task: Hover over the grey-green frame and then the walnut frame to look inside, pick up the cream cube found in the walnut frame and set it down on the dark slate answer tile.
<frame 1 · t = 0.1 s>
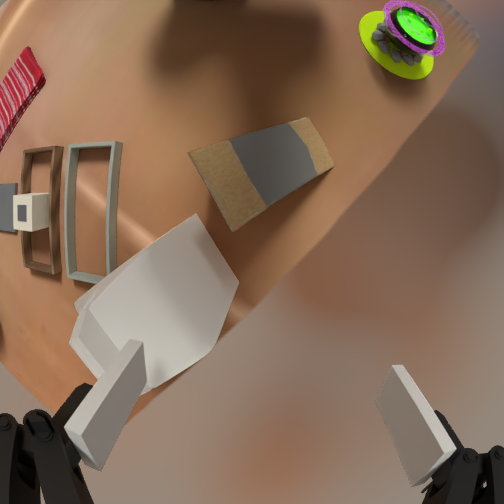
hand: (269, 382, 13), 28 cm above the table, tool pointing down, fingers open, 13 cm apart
walnut frame: (42, 208, 39), on the table
milk: (186, 266, 41), on the table
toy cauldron: (397, 43, 31), on the table
dish towel: (10, 102, 34), on the table
slate tile: (5, 206, 39), on the table
cream cube: (32, 210, 36), in the walnut frame
sandwich container: (276, 164, 37), on the table
grey frame: (93, 212, 39), on the table
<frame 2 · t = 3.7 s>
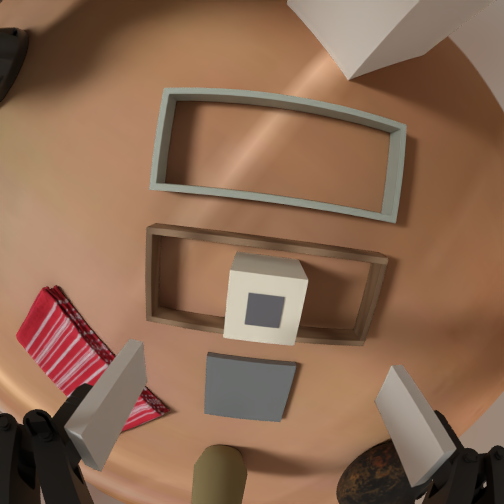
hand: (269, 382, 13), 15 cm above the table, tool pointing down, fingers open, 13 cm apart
walnut frame: (263, 284, 27), on the table
glass bottle: (377, 456, 35), on the table
milk: (359, 26, 20), on the table
squeeze bottle: (223, 452, 35), on the table
dish towel: (84, 368, 32), on the table
slate tile: (247, 389, 30), on the table
cream cube: (263, 296, 24), in the walnut frame
grey frame: (281, 150, 24), on the table
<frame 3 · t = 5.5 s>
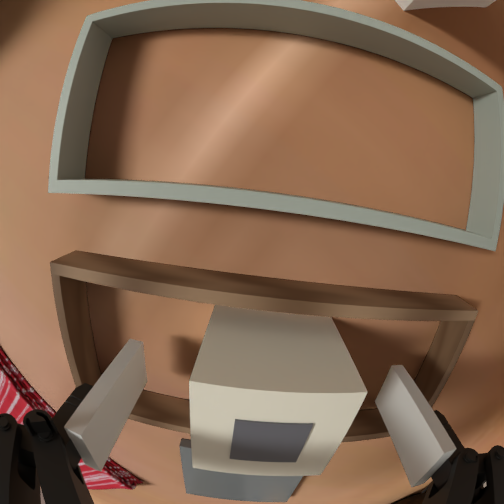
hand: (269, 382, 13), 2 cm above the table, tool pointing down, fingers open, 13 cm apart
walnut frame: (265, 359, 14), on the table
dish towel: (38, 422, 19), on the table
slate tile: (241, 475, 18), on the table
cream cube: (267, 395, 11), in the walnut frame
grey frame: (302, 107, 11), on the table
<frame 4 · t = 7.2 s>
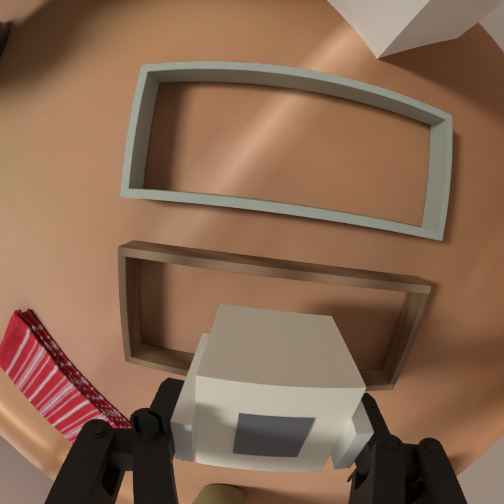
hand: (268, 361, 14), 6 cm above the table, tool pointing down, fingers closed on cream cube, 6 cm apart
walnut frame: (272, 320, 21), on the table
milk: (384, 0, 14), on the table
squeeze bottle: (223, 490, 27), on the table
dish towel: (67, 398, 26), on the table
cream cube: (269, 392, 12), point 9 cm above the table, touching gripper
grey frame: (297, 144, 18), on the table
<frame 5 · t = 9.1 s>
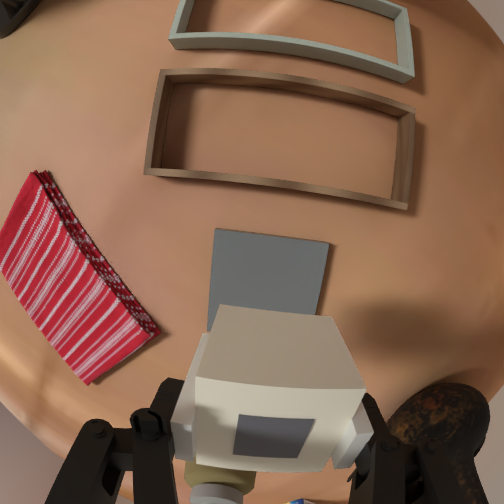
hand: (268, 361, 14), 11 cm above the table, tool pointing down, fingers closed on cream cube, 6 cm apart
walnut frame: (285, 133, 22), on the table
glass bottle: (417, 410, 30), on the table
squeeze bottle: (229, 404, 29), on the table
dish towel: (62, 284, 27), on the table
slate tile: (265, 287, 25), on the table
cream cube: (269, 393, 12), point 14 cm above the table, touching gripper
grey frame: (297, 19, 19), on the table
when the fingers open (1 cm above the table, at t = 11.1 s): cream cube stays where it is, resting on slate tile.
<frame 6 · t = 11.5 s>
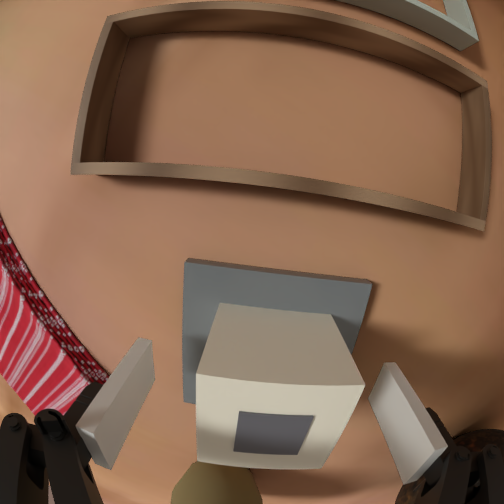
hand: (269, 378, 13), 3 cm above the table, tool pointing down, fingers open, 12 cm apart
walnut frame: (303, 101, 12), on the table
glass bottle: (443, 456, 20), on the table
squeeze bottle: (221, 470, 20), on the table
dish towel: (9, 318, 17), on the table
slate tile: (268, 348, 16), on the table
cream cube: (269, 390, 12), on the slate tile, point 4 cm above the table
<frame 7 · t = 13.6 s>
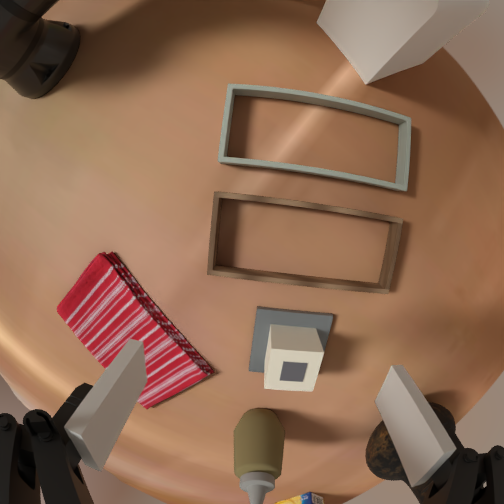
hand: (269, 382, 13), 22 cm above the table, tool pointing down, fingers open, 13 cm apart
walnut frame: (306, 242, 33), on the table
glass bottle: (400, 421, 39), on the table
milk: (372, 41, 27), on the table
squeeze bottle: (259, 417, 40), on the table
dish towel: (128, 336, 38), on the table
slate tile: (289, 342, 36), on the table
cream cube: (291, 358, 32), on the slate tile, point 4 cm above the table
grey frame: (319, 136, 30), on the table
beverage box: (299, 500, 47), on the table
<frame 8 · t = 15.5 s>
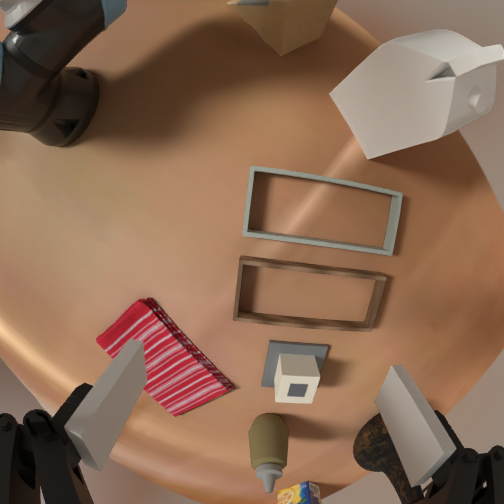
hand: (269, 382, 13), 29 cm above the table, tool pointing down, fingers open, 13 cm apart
walnut frame: (309, 294, 42), on the table
glass bottle: (382, 422, 50), on the table
milk: (378, 112, 35), on the table
squeeze bottle: (268, 420, 49), on the table
dish towel: (162, 360, 47), on the table
slate tile: (293, 365, 45), on the table
cream cube: (295, 378, 42), on the slate tile, point 4 cm above the table
sandwich container: (272, 18, 32), on the table
grey frame: (324, 210, 39), on the table
beverage box: (298, 488, 58), on the table
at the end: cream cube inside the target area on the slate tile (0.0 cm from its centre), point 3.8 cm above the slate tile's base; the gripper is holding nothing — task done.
